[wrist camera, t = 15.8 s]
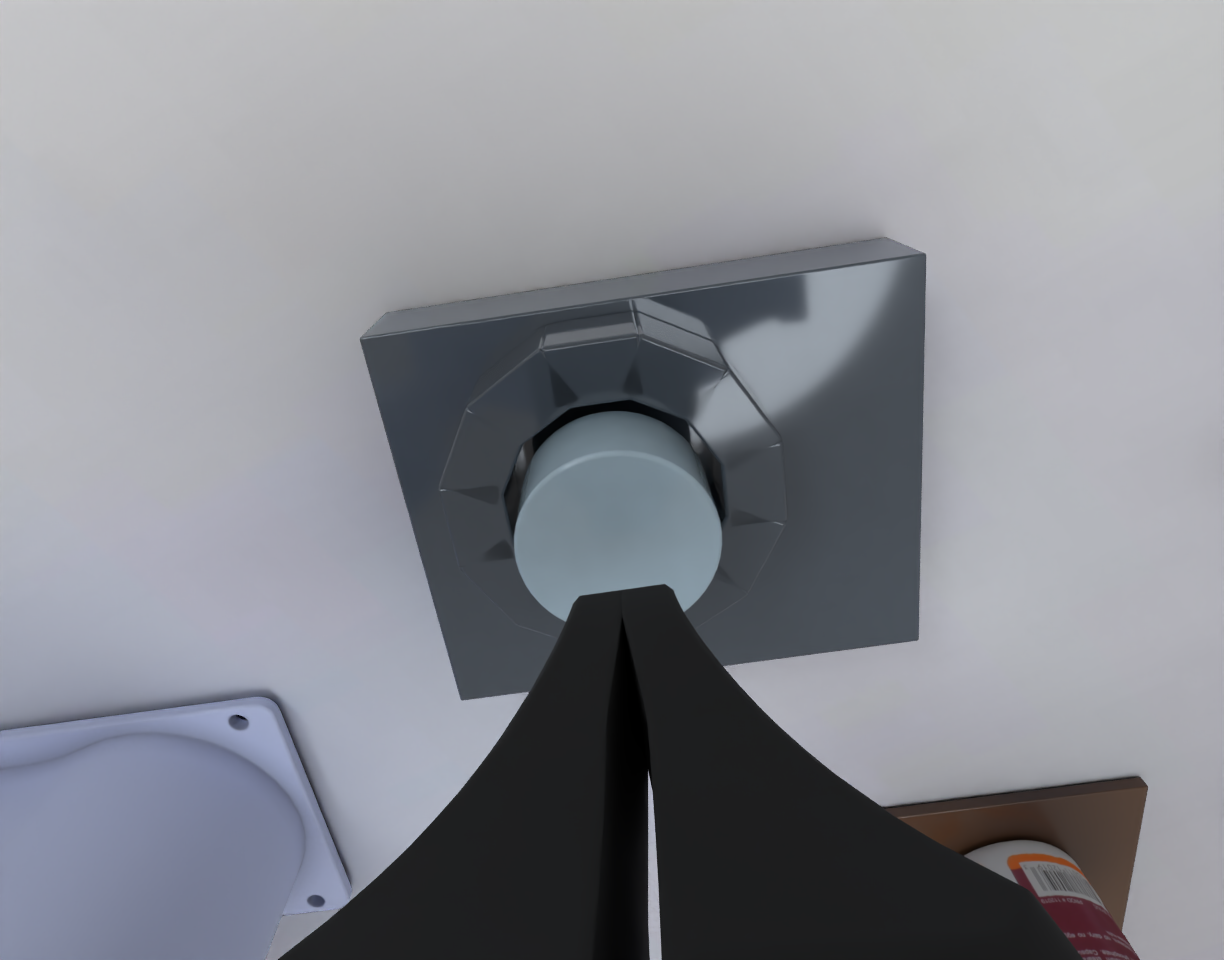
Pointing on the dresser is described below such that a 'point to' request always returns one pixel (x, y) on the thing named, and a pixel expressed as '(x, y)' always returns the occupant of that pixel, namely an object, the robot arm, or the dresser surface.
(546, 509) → the light blue short cylinder
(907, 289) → the grey base plate
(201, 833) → the robot arm
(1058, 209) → the dresser surface
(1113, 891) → the coaster
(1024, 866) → the pill bottle
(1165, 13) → the dresser surface
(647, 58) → the dresser surface
